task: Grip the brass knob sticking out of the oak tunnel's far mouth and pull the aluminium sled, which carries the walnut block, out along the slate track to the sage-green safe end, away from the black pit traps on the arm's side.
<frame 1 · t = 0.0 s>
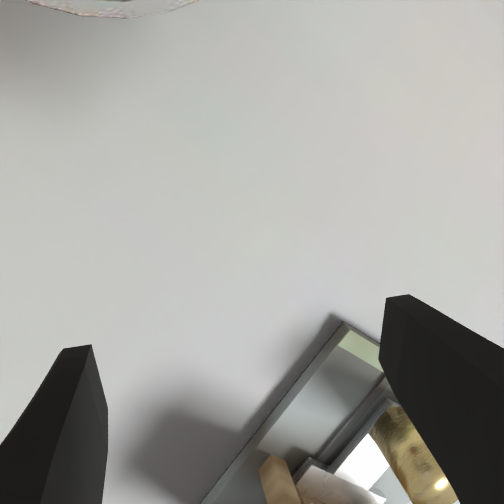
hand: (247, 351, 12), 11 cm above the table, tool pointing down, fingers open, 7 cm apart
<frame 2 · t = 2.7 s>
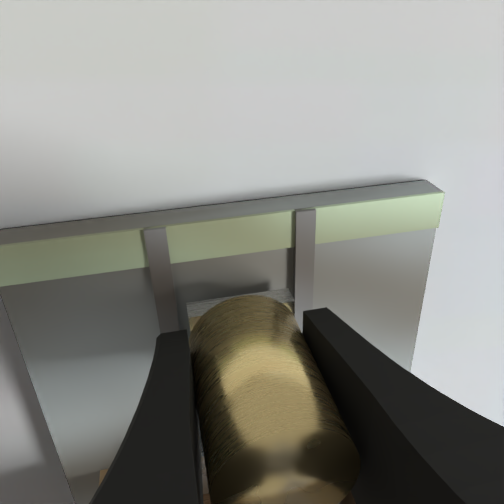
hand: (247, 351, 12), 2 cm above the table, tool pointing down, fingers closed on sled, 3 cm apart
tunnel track: (243, 478, 18), on the table
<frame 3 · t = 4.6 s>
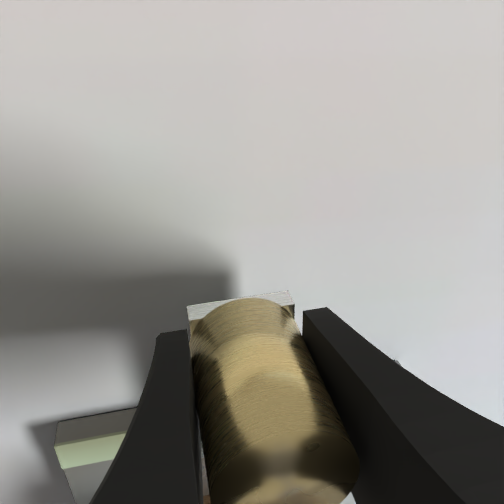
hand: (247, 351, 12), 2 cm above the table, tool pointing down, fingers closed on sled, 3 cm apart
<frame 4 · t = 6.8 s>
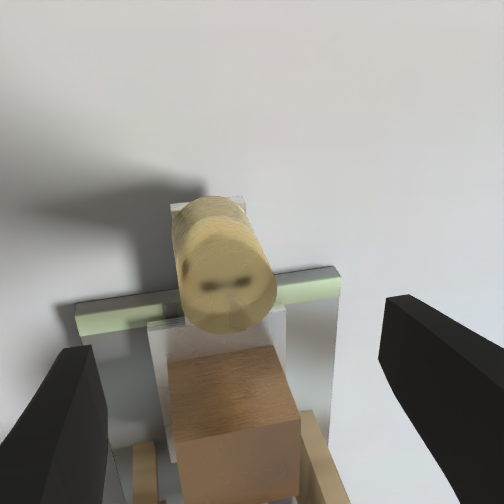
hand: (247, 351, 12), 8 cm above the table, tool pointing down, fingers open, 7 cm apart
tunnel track: (226, 452, 26), on the table
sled: (227, 374, 18), point 3 cm above the table, slide at 6.4 cm
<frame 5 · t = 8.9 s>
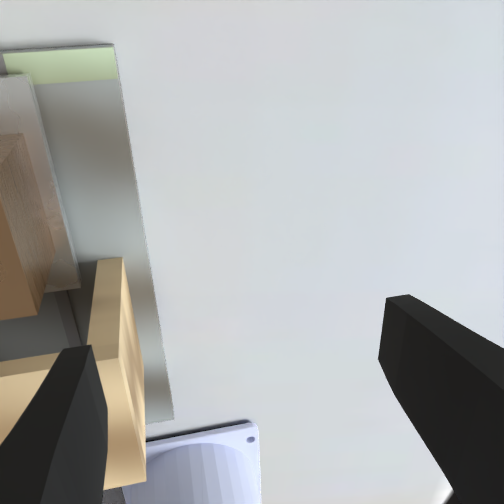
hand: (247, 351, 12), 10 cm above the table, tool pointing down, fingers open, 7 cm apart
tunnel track: (30, 319, 21), on the table
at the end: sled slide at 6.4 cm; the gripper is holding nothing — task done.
